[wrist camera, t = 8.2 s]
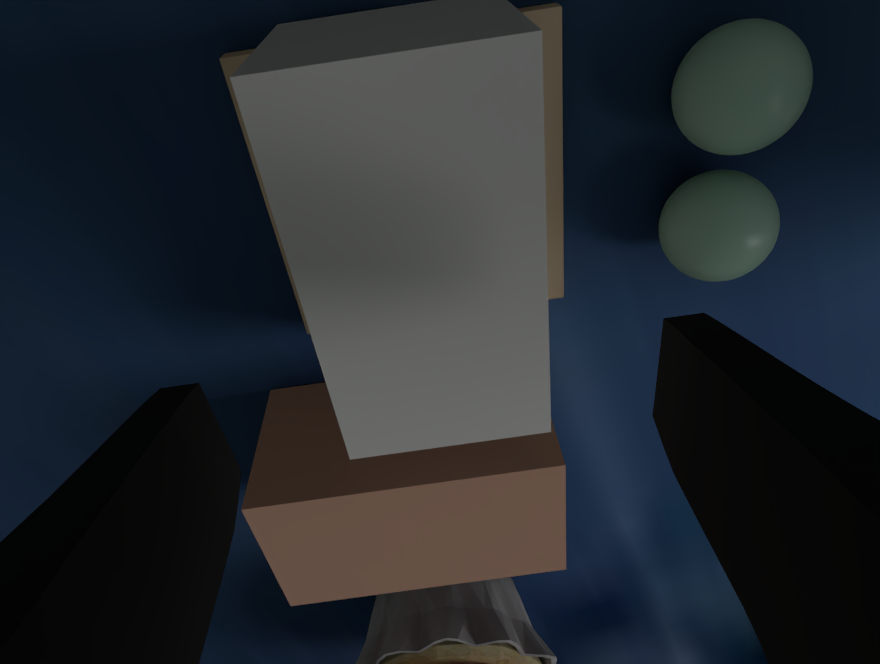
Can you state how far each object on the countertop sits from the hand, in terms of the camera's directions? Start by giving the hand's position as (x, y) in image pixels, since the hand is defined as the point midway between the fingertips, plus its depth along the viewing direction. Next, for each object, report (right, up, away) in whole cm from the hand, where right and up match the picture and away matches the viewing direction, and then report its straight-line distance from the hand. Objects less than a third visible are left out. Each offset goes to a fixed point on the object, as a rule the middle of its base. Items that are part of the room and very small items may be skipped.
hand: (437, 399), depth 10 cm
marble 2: (+7, +5, +8) cm, 12 cm away
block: (-1, +5, +7) cm, 8 cm away
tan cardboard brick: (-1, -2, +12) cm, 13 cm away
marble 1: (+7, +8, +6) cm, 12 cm away
